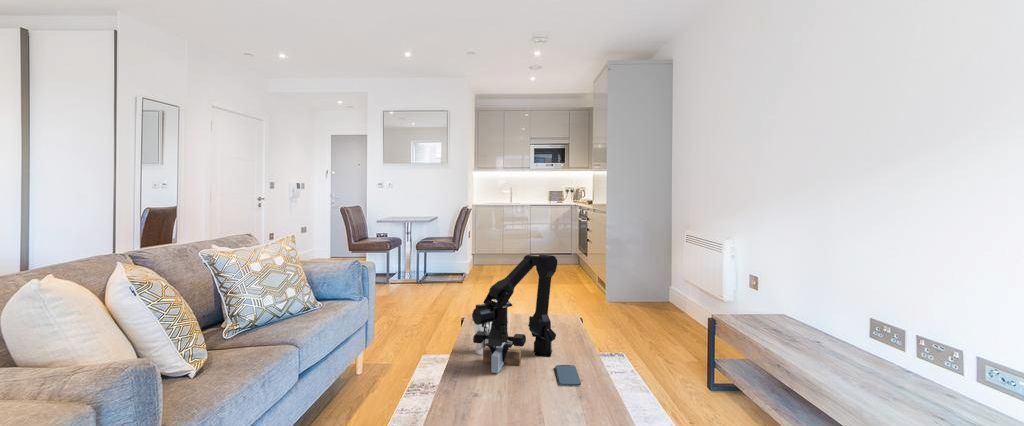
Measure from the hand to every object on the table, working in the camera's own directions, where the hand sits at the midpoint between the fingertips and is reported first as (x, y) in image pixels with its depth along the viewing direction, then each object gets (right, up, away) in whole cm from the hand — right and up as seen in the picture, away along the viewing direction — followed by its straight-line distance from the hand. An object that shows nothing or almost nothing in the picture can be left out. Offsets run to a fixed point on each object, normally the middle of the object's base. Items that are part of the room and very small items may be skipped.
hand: (499, 361), depth 156 cm
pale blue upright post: (0, -1, 0) cm, 1 cm away
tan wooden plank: (+1, -2, +4) cm, 4 cm away
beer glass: (-7, -2, +15) cm, 17 cm away
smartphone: (+24, -3, -8) cm, 25 cm away
